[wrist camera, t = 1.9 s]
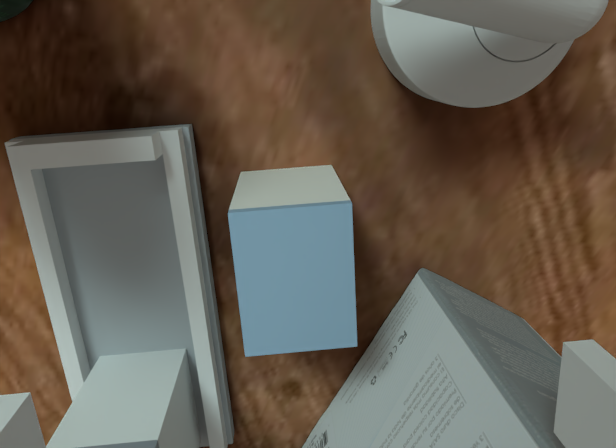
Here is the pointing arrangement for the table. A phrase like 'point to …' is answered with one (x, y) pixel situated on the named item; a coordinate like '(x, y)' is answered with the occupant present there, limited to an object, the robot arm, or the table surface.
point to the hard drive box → (447, 378)
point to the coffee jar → (12, 8)
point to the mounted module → (133, 404)
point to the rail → (125, 254)
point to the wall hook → (477, 44)
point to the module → (293, 260)
